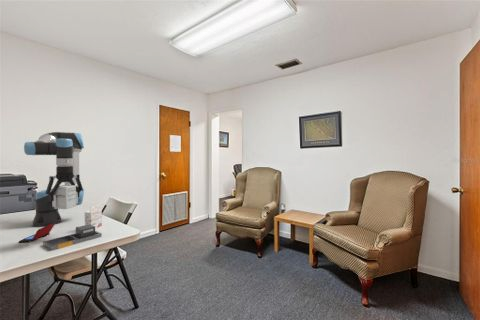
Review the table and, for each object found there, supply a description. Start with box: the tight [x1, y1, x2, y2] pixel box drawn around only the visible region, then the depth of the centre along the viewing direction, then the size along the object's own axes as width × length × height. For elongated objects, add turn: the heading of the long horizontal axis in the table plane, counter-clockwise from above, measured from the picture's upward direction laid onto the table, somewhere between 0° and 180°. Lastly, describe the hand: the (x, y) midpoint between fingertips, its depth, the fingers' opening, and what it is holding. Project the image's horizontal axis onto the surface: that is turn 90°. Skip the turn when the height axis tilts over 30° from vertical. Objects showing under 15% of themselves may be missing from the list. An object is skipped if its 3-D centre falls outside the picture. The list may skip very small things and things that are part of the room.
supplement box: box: [54, 184, 77, 210], centre depth 128 cm, size 7×7×13 cm
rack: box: [42, 230, 102, 251], centre depth 122 cm, size 12×23×3 cm, turn 146°
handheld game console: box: [18, 223, 56, 244], centre depth 127 cm, size 12×11×7 cm
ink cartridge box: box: [84, 204, 103, 230], centre depth 144 cm, size 9×5×15 cm, turn 168°
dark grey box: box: [75, 224, 96, 239], centre depth 127 cm, size 7×7×6 cm
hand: (65, 204), depth 128 cm, fingers closed on supplement box, 10 cm apart
